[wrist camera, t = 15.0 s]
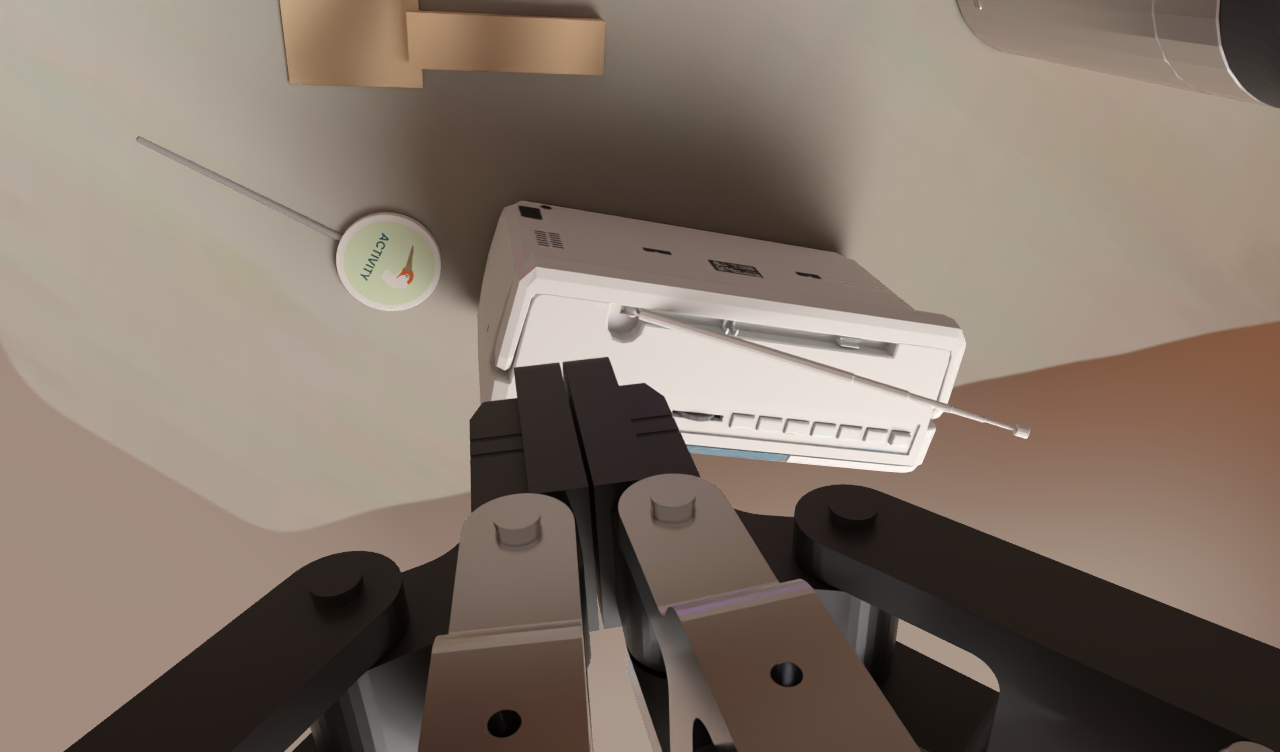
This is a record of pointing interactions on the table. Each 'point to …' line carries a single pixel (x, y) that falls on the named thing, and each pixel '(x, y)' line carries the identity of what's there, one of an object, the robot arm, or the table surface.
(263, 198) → the sign
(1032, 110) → the table surface
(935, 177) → the table surface
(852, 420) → the stereo radio cassette player
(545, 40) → the wooden turner
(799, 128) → the table surface
